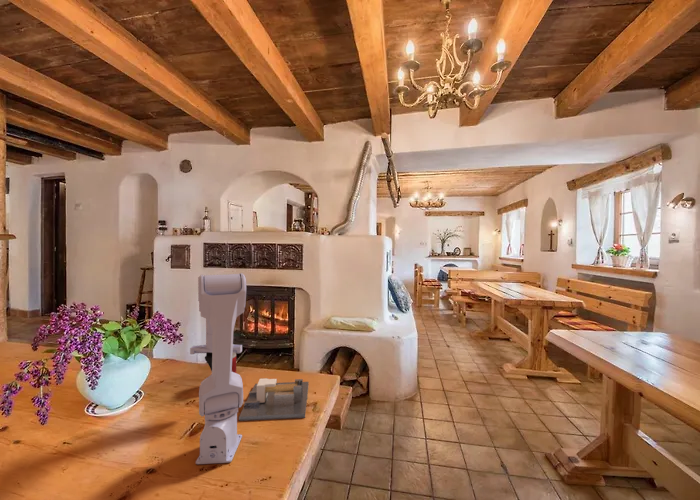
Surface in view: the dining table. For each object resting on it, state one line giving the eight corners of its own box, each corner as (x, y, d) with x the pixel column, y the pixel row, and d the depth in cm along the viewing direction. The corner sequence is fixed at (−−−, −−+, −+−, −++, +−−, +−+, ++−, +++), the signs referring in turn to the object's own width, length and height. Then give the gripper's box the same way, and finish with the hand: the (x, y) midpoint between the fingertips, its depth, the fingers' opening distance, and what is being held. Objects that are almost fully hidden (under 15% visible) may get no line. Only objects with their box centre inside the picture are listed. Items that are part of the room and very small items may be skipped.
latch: (274, 401, 91) (274, 385, 91) (256, 402, 91) (256, 385, 91) (277, 394, 96) (277, 377, 96) (260, 394, 95) (260, 378, 95)
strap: (299, 390, 93) (299, 386, 93) (265, 392, 92) (265, 389, 92) (300, 385, 95) (300, 382, 95) (267, 388, 95) (267, 385, 95)
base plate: (304, 417, 85) (304, 397, 85) (238, 420, 84) (238, 400, 84) (308, 384, 105) (308, 368, 105) (255, 387, 104) (255, 370, 104)
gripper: (245, 327, 93) (245, 370, 93) (197, 328, 92) (197, 371, 92) (238, 334, 86) (238, 380, 86) (186, 335, 85) (186, 382, 85)
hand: (216, 376), depth 89 cm, fingers closed
